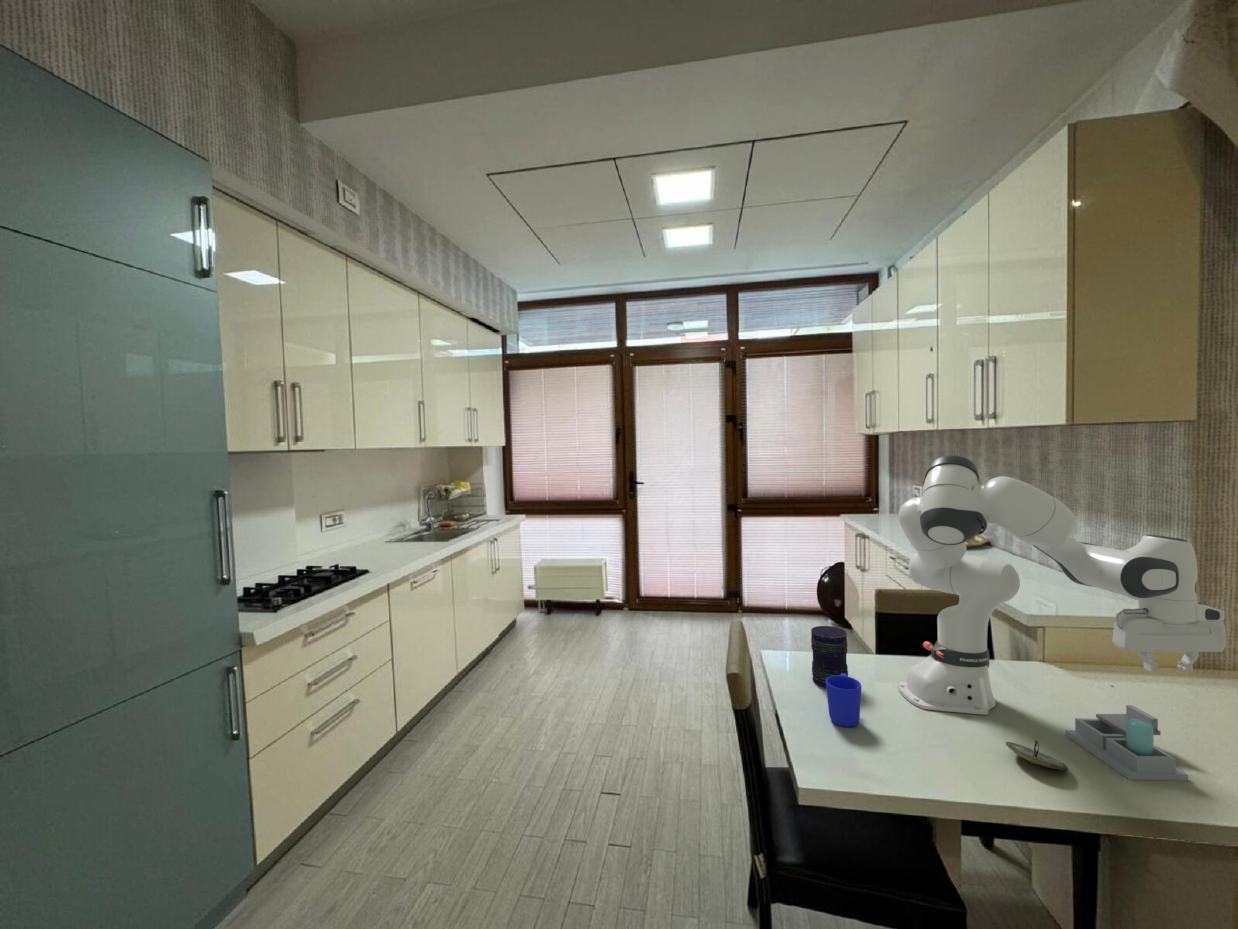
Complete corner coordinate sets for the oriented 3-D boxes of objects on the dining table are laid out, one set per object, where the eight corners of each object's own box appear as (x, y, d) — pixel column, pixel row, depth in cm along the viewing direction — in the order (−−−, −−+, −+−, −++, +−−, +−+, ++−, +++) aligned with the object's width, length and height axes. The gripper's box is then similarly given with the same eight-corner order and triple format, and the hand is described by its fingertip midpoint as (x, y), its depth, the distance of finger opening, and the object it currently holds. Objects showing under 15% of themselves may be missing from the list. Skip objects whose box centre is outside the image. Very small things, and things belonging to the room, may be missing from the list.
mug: (861, 709, 132) (860, 671, 132) (862, 733, 121) (861, 692, 121) (827, 703, 136) (827, 667, 135) (825, 726, 125) (824, 686, 124)
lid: (995, 758, 110) (994, 736, 110) (1020, 745, 114) (1020, 724, 114) (1053, 787, 100) (1053, 762, 100) (1079, 771, 105) (1078, 748, 105)
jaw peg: (1138, 767, 103) (1137, 728, 103) (1120, 755, 107) (1120, 718, 107) (1159, 767, 103) (1159, 728, 103) (1140, 755, 107) (1140, 718, 107)
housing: (1188, 780, 101) (1188, 760, 101) (1129, 779, 102) (1128, 759, 102) (1116, 735, 117) (1115, 717, 117) (1065, 735, 118) (1065, 717, 117)
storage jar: (817, 671, 155) (815, 623, 155) (851, 679, 149) (850, 629, 149) (808, 684, 147) (806, 633, 147) (844, 693, 141) (842, 640, 141)
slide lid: (1160, 735, 109) (1160, 720, 109) (1124, 734, 109) (1124, 720, 109) (1129, 717, 116) (1129, 703, 116) (1095, 717, 117) (1095, 703, 116)
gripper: (1129, 613, 109) (1130, 676, 109) (1233, 612, 107) (1233, 676, 108) (1104, 604, 115) (1104, 664, 116) (1201, 603, 114) (1202, 664, 114)
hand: (1167, 670), depth 112 cm, fingers open, 5 cm apart
